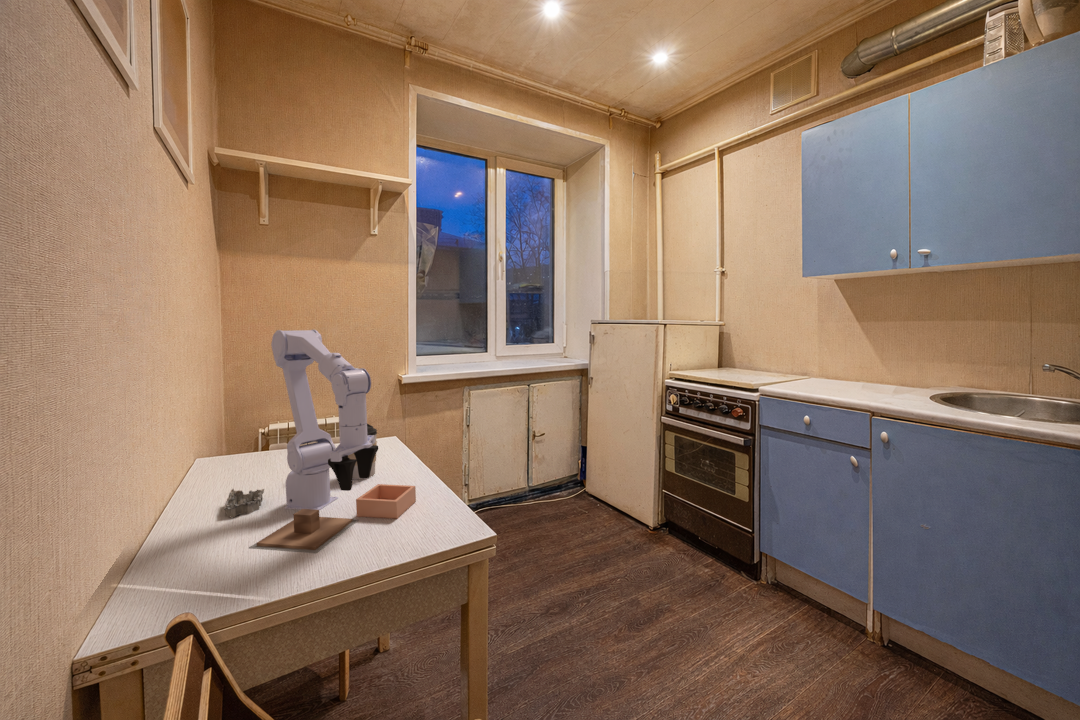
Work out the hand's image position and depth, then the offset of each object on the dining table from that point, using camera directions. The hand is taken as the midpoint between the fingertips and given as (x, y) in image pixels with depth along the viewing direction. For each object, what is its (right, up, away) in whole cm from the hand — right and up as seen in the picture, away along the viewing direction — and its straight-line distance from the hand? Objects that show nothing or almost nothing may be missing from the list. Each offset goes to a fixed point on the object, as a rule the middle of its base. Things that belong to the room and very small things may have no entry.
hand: (355, 483), depth 99 cm
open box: (+4, -9, +8) cm, 13 cm away
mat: (-9, -10, -4) cm, 14 cm away
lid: (-9, -9, -4) cm, 13 cm away
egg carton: (-32, -9, +10) cm, 34 cm away
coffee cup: (-12, -7, +34) cm, 36 cm away
